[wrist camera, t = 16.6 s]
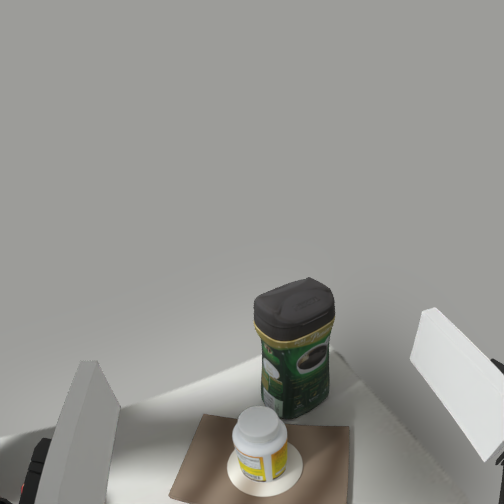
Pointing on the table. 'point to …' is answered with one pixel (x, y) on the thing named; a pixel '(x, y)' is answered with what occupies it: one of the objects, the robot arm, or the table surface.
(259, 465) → the supplement bottle
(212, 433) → the brown flat board
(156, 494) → the table surface
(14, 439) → the table surface
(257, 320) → the coffee jar
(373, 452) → the table surface
